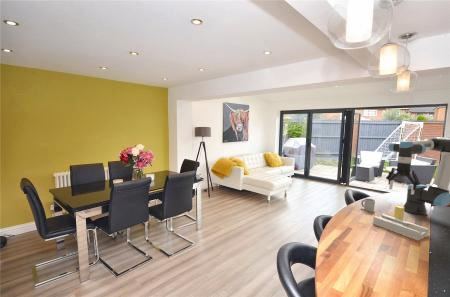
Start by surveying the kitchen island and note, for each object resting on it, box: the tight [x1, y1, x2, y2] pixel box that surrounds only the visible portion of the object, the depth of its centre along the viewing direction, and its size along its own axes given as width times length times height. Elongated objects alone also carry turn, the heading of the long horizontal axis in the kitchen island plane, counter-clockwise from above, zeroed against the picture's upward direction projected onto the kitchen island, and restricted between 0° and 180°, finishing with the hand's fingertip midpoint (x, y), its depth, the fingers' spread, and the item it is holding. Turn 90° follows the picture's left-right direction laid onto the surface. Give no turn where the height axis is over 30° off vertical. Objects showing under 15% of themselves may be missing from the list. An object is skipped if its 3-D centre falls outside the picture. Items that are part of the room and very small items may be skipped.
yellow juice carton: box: [393, 205, 405, 220], centre depth 164 cm, size 7×4×12 cm, turn 117°
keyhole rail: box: [372, 213, 430, 241], centre depth 153 cm, size 14×27×5 cm, turn 27°
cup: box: [360, 198, 376, 213], centre depth 190 cm, size 7×10×9 cm
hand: (401, 191), depth 162 cm, fingers open, 13 cm apart
